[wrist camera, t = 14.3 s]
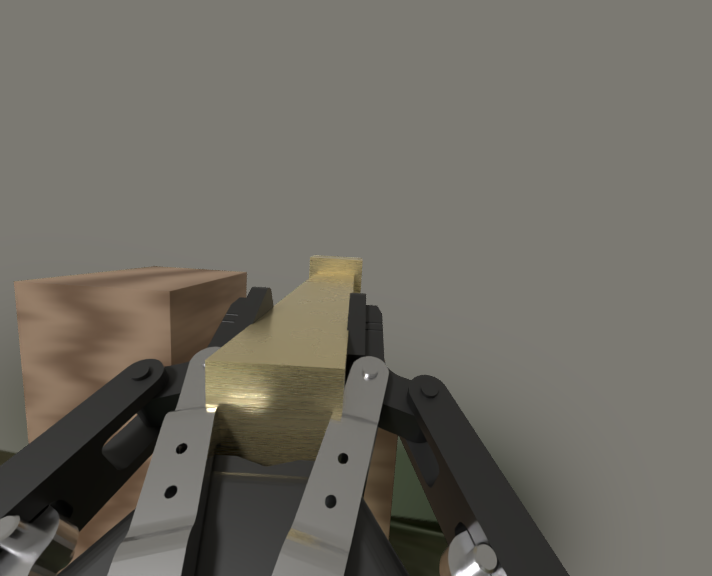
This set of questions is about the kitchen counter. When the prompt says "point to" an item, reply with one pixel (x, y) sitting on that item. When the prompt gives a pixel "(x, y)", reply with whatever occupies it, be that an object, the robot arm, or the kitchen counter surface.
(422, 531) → the kitchen counter surface
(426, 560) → the kitchen counter surface
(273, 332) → the tan wooden bar
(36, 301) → the stepped wooden block
